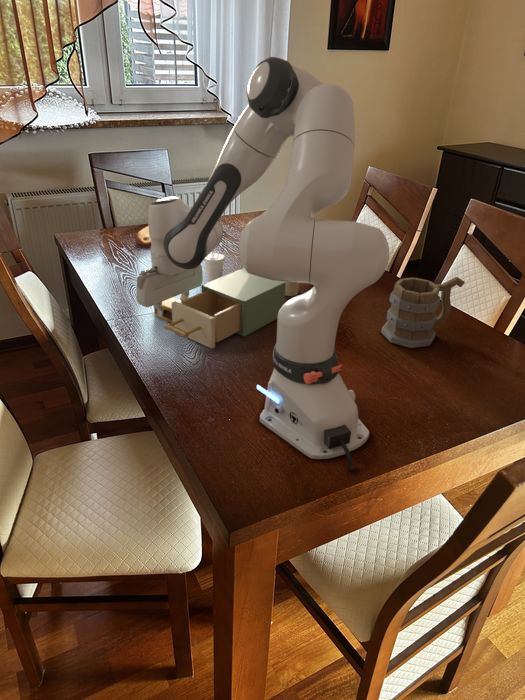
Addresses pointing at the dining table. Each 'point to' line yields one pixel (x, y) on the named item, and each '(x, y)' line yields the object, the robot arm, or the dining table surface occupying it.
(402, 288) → the tankard
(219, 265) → the smoothie
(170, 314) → the matchbox
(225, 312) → the drawer
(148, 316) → the dining table surface
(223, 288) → the cabinet
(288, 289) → the candle
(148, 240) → the slice of bread
